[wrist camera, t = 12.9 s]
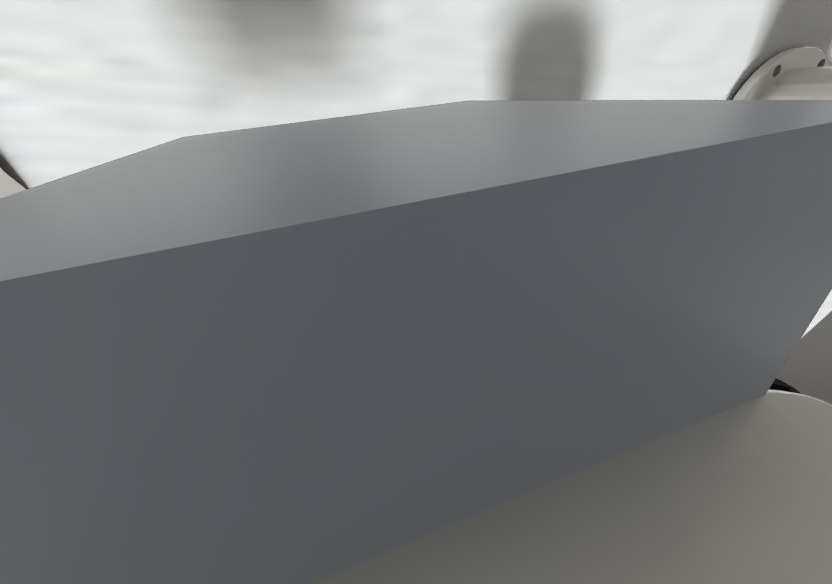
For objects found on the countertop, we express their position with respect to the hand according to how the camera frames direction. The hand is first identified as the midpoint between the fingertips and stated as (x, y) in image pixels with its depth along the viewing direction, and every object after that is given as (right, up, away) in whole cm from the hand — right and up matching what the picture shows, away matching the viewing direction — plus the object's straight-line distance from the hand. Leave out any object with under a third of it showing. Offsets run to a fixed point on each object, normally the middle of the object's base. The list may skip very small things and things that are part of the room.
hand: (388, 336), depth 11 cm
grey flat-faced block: (-1, +1, +2) cm, 2 cm away
